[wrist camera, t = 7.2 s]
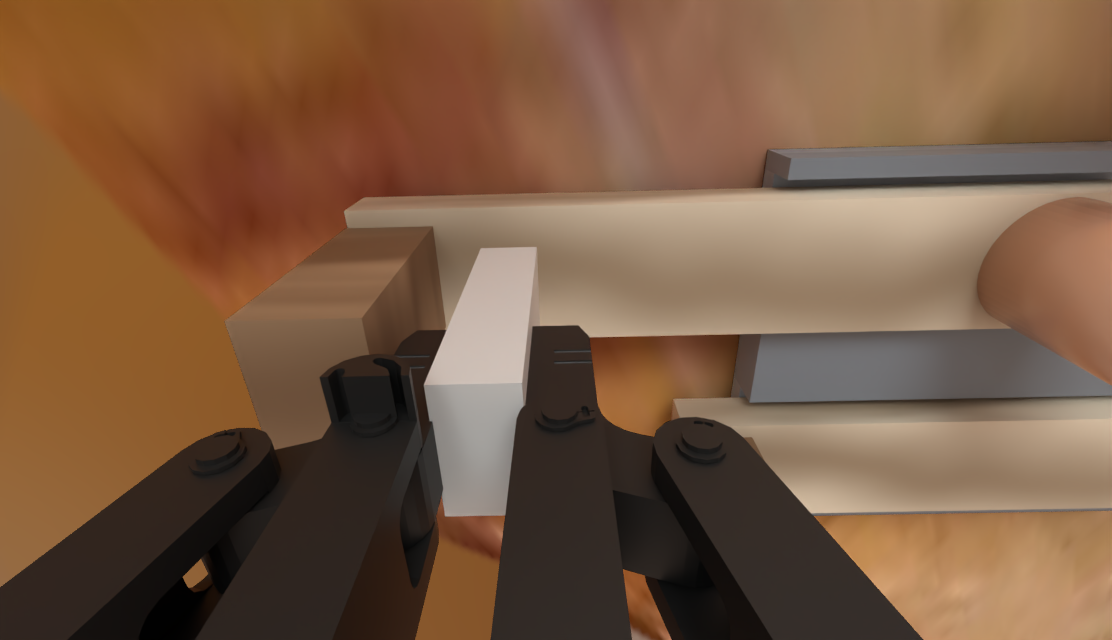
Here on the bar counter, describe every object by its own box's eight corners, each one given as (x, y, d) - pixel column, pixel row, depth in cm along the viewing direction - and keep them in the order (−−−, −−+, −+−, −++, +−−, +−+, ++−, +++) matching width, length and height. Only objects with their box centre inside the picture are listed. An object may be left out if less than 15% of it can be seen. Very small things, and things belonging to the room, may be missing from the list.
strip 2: (671, 398, 19) (736, 583, 12) (1293, 386, 19) (1713, 567, 12) (664, 483, 21) (716, 684, 14) (1231, 472, 21) (1564, 673, 14)
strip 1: (362, 197, 16) (216, 295, 9) (1111, 179, 16) (1544, 266, 9) (385, 318, 18) (277, 476, 11) (1055, 304, 18) (1377, 456, 11)
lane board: (768, 149, 16) (813, 166, 13) (1543, 129, 16) (1758, 144, 13) (717, 484, 22) (740, 545, 20) (1276, 474, 22) (1383, 535, 19)
